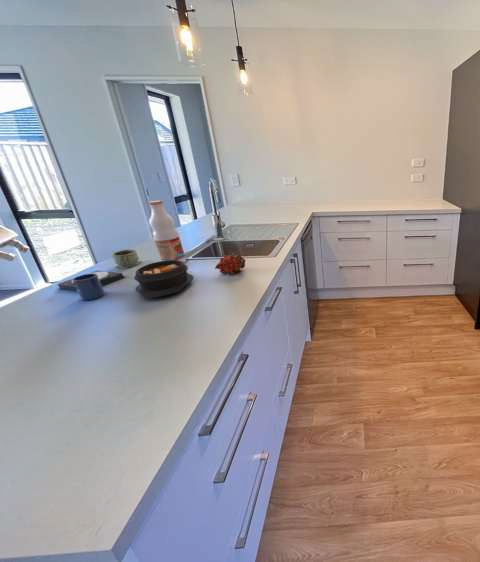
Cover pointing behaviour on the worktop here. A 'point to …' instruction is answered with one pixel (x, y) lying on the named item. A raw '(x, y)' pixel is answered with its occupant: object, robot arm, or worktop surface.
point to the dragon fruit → (231, 264)
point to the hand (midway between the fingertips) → (21, 254)
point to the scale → (102, 275)
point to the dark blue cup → (88, 286)
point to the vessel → (126, 258)
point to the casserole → (162, 278)
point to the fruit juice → (165, 233)
